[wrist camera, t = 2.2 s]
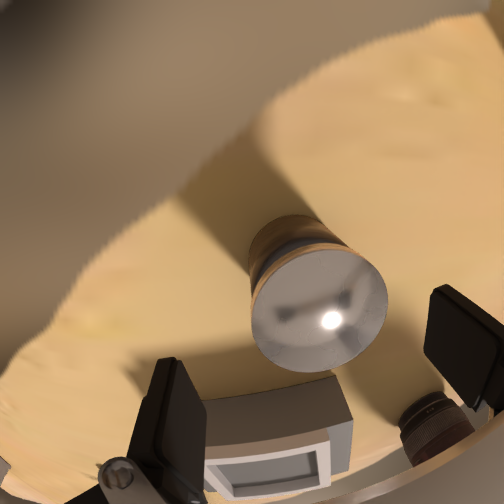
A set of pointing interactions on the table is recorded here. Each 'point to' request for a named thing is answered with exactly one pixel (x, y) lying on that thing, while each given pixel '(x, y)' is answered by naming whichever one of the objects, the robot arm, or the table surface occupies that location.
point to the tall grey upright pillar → (3, 469)
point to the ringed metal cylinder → (312, 296)
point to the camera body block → (277, 441)
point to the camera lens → (432, 427)
